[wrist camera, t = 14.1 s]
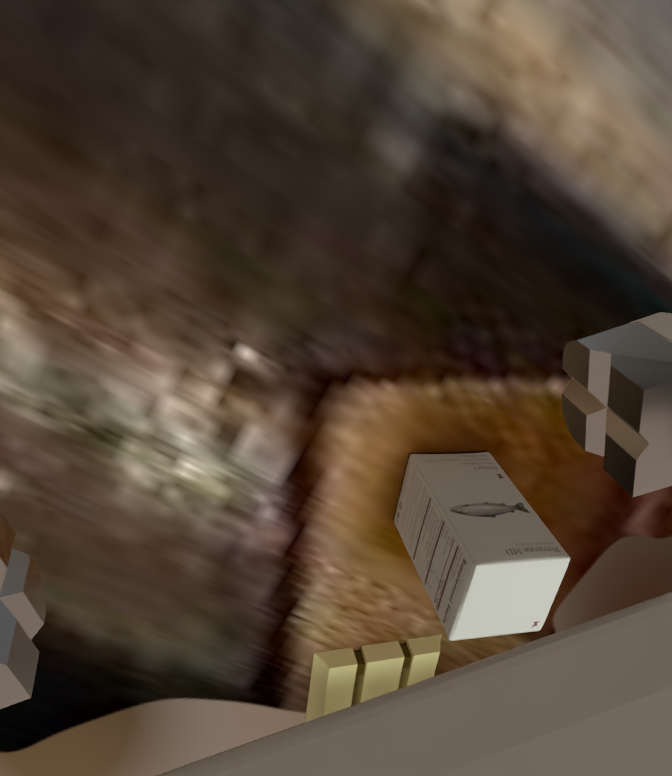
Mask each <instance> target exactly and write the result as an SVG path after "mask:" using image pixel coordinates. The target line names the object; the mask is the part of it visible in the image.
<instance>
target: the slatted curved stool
mask: <svg viewBox="0 0 672 776" xmlns="http://www.w3.org/2000/svg"><path fill="white" fill-rule="evenodd" d="M441 637H442V635H435V636H428V637H421V638H414V639H407V642H406V644H405V645H400V644H399V642H398V641H394V642H387V643H380V644H373V645H366V646H362V647H361V651H358V652H354V651H353V648H345V649H338V650H331V651H325V652H318V653H314V658H313V666H312V673H311V681H310V688H309V696H308V703H307V710H306V718H305V722H308V721H311V720H314V719H316V718H319V717H322V716H325V715H328V714H330V713H333V712H336V711H339V710H342V709H344V708H347V707H350V706H353V705H356V704H358V703H361V702H364V701H367V700H370V699H372V698H375V697H378V696H381V695H384V694H386V693H389V692H392V691H395V690H398V689H401V688H403V687H406V686H409V685H412V684H415V683H417V682H420V681H423V680H426V679H429V678H431V677H434V673H435V669H436V665H437V662H438V658H439V654H440V641H441ZM355 677H356V679H355ZM354 683H355V685H354ZM353 689H354V690H353Z"/></svg>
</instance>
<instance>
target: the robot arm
mask: <svg viewBox="0 0 672 776" xmlns="http://www.w3.org/2000/svg"><path fill="white" fill-rule="evenodd" d="M563 369H564V370H565V371H566V372H567V373H568V374H569V375H570V376H571V377H572V378H571V380H570V382H569V383H568V385H567V386H566V388H565V390H564V391H563V393H562V412H563V415H564V418H565V421H566V424H567V427H568V430H569V431H570V433H571V434H572V436H573V438H574V439H575V441H576V442H577V443H578V444H579V445H580V446H581V447H582V448H583V449H584V450H585V451H588V452H591V453H594V454H597V455H600V456H604V470H605V471H606V472H607V473H608V474H609V475H610V476H611V477H612V478H613V479H615V480H616V481H617V482H618V483H619V484H620V485H621V486H622V487H623V488H624V489H625V490H626V491H627V492H628V493H629V494H630V495H631V496H632V497H635V496H639V495H642V494H645V493H649V492H652V491H655V490H659V489H662V488H665V487H669V486H672V314H671V313H661V312H660V313H657V314H654V315H651V316H648V317H645V318H642V319H639V320H636V321H633V322H630V323H629V324H626V325H623V326H620V327H616V328H613V329H610V330H607V331H604V332H600V333H597V334H594V335H591V336H588V337H584V338H581V339H578V340H575V341H572V342H568V343H567V345H566V347H565V350H564V353H563ZM15 534H16V532H15V531H14V529H13V528H12V526H11V525H10V524H9V522H8V521H7V519H6V518H5V516H4V515H2V514H0V709H1V708H4V707H7V706H10V705H12V704H15V703H18V702H21V701H23V700H26V699H29V698H31V695H32V689H33V684H34V678H35V672H36V667H37V661H38V655H39V651H38V650H37V649H36V647H35V646H34V644H33V643H32V641H31V639H32V638H33V637H34V635H35V634H36V633H37V632H38V631H39V629H40V628H41V627H42V626H43V624H44V619H45V612H46V597H45V588H44V583H43V580H42V578H41V575H40V572H39V570H38V568H37V566H36V564H35V563H34V561H33V559H32V558H31V556H29V555H27V554H24V553H22V552H20V551H17V550H15V549H13V548H12V546H13V542H14V538H15ZM156 776H672V592H670V593H667V594H664V595H661V596H659V597H656V598H653V599H650V600H647V601H645V602H642V603H639V604H636V605H634V606H631V607H628V608H625V609H622V610H620V611H617V612H614V613H611V614H608V615H605V616H603V617H600V618H597V619H594V620H591V621H589V622H586V623H583V624H580V625H577V626H574V627H572V628H569V629H566V630H563V631H561V632H558V633H555V634H552V635H549V636H546V637H544V638H541V639H538V640H535V641H532V642H530V643H527V644H524V645H521V646H518V647H516V648H513V649H510V650H507V651H504V652H502V653H499V654H496V655H493V656H490V657H488V658H485V659H482V660H479V661H476V662H473V663H471V664H468V665H465V666H462V667H459V668H457V669H454V670H451V671H448V672H445V673H443V674H440V675H437V676H434V677H431V678H429V679H426V680H423V681H420V682H417V683H415V684H412V685H409V686H406V687H403V688H401V689H398V690H395V691H392V692H389V693H386V694H384V695H381V696H378V697H375V698H372V699H370V700H367V701H364V702H361V703H358V704H356V705H353V706H350V707H347V708H344V709H342V710H339V711H336V712H333V713H330V714H328V715H325V716H322V717H319V718H316V719H314V720H311V721H308V722H305V723H302V724H300V725H297V726H294V727H291V728H288V729H285V730H283V731H280V732H277V733H274V734H272V735H269V736H266V737H263V738H260V739H258V740H255V741H252V742H249V743H246V744H244V745H241V746H238V747H235V748H233V749H230V750H227V751H224V752H221V753H218V754H215V755H213V756H210V757H207V758H204V759H201V760H198V761H196V762H193V763H190V764H187V765H184V766H182V767H179V768H176V769H174V770H170V771H168V772H165V773H162V774H160V775H156Z"/></svg>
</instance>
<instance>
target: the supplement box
mask: <svg viewBox="0 0 672 776" xmlns="http://www.w3.org/2000/svg"><path fill="white" fill-rule="evenodd" d="M394 523H395V525H396V527H397V529H398V531H399V533H400V536H401V538H402V540H403V542H404V545H405V547H406V549H407V551H408V553H409V555H410V557H411V559H412V562H413V564H414V566H415V568H416V570H417V572H418V574H419V576H420V578H421V581H422V583H423V585H424V587H425V589H426V591H427V593H428V595H429V597H430V599H431V602H432V604H433V606H434V608H435V610H436V612H437V614H438V616H439V619H440V621H441V623H442V625H443V627H444V630H445V632H446V635H447V637H448V639H449V640H450V641H456V640H464V639H472V638H481V637H489V636H499V635H506V634H514V633H524V632H532V631H540V630H541V628H542V626H543V624H544V622H545V620H546V617H547V615H548V613H549V610H550V608H551V605H552V603H553V601H554V598H555V596H556V593H557V591H558V589H559V586H560V584H561V581H562V579H563V576H564V574H565V572H566V569H567V567H568V564H569V561H570V557H569V556H568V554H567V553H566V552H565V551H564V549H563V548H562V547H561V545H560V544H559V543H558V542H557V540H556V539H555V538H554V536H553V535H552V534H551V532H550V531H549V530H548V528H547V527H546V526H545V525H544V523H543V522H542V521H541V519H540V518H539V517H538V515H537V514H536V513H535V511H534V510H533V509H532V508H531V506H530V505H529V504H528V502H527V501H526V500H525V498H524V497H523V496H522V495H521V493H520V492H519V491H518V489H517V488H516V487H515V485H514V484H513V483H512V481H511V480H510V479H509V478H508V476H507V475H506V474H505V472H504V471H503V470H502V468H501V467H500V466H499V465H498V463H497V462H496V461H495V459H494V458H493V457H492V455H491V454H490V453H489V452H482V453H466V454H410V457H409V461H408V464H407V468H406V473H405V477H404V481H403V485H402V489H401V493H400V497H399V501H398V506H397V510H396V514H395V519H394Z"/></svg>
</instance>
